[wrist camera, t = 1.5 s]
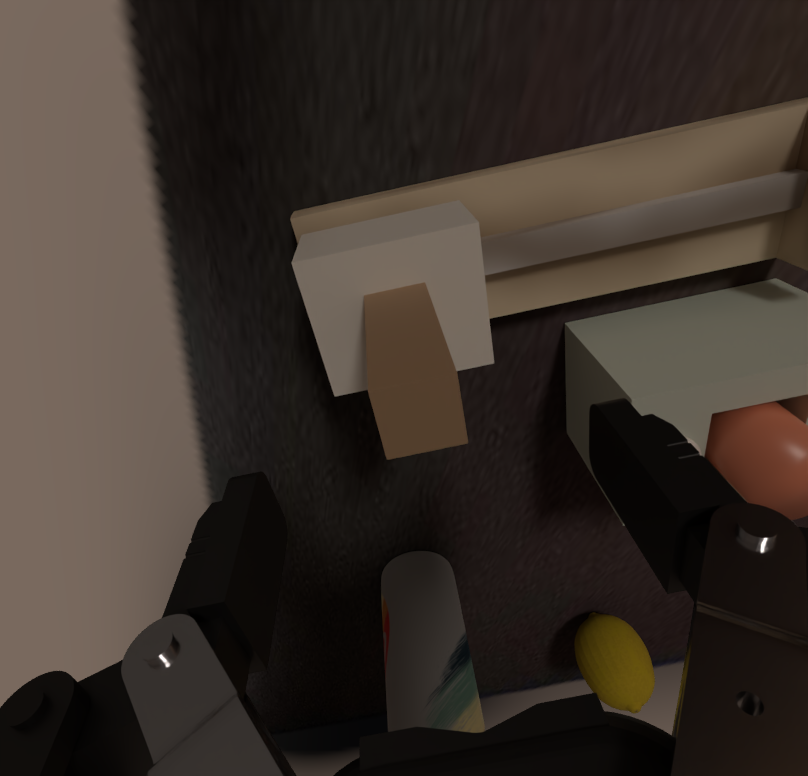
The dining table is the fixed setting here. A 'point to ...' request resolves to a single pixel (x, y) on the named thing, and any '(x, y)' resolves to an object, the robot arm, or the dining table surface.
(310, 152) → the dining table surface
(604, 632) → the lemon
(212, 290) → the dining table surface
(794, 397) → the cabinet
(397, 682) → the lotion bottle
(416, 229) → the carriage
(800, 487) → the gauge plunger
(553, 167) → the rail
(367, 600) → the dining table surface
